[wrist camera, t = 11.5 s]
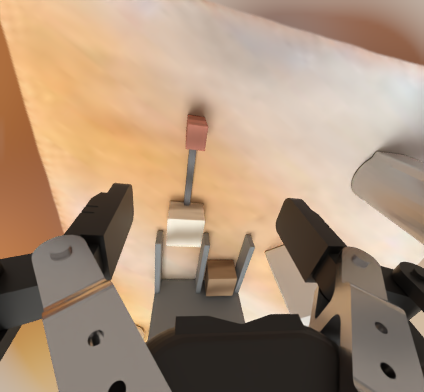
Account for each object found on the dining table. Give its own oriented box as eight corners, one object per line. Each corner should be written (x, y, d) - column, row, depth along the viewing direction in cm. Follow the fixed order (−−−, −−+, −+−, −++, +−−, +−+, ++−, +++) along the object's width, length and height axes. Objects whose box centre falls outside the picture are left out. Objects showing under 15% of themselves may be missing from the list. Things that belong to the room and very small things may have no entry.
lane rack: (157, 230, 39) (145, 299, 27) (250, 234, 42) (274, 298, 30) (156, 281, 47) (146, 352, 35) (234, 282, 50) (248, 346, 39)
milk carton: (264, 251, 46) (306, 349, 30) (294, 240, 45) (354, 335, 29) (271, 269, 49) (311, 364, 33) (299, 259, 48) (354, 353, 32)
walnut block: (206, 259, 45) (209, 279, 41) (232, 259, 46) (237, 278, 42) (204, 276, 48) (205, 296, 44) (228, 276, 49) (232, 295, 45)
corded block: (175, 112, 28) (172, 121, 23) (216, 118, 29) (222, 128, 24) (168, 226, 39) (165, 250, 34) (199, 228, 40) (200, 251, 35)
